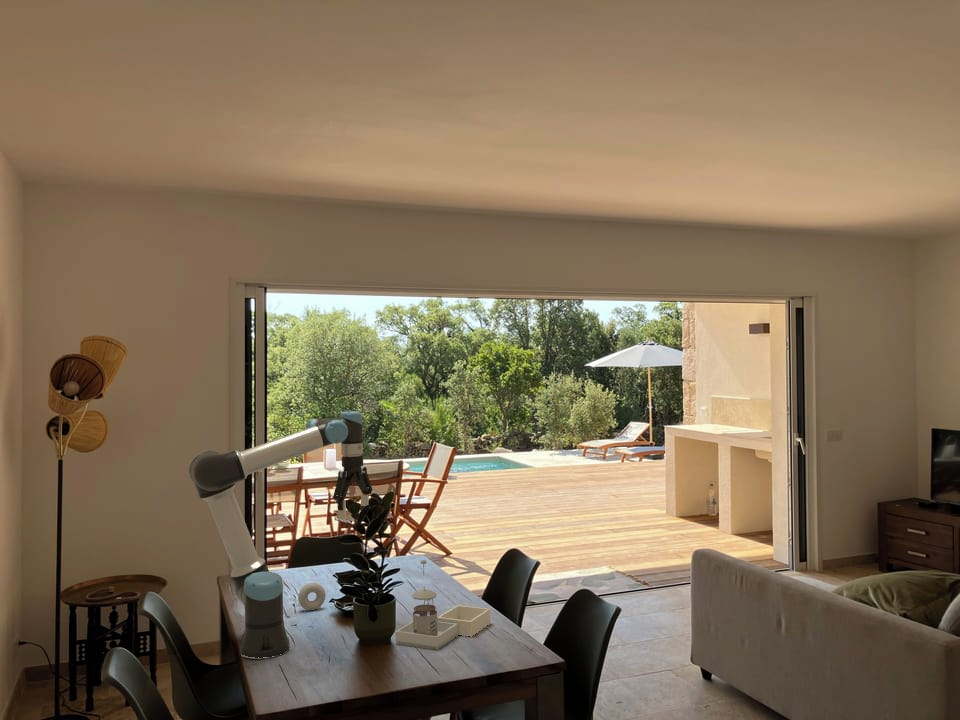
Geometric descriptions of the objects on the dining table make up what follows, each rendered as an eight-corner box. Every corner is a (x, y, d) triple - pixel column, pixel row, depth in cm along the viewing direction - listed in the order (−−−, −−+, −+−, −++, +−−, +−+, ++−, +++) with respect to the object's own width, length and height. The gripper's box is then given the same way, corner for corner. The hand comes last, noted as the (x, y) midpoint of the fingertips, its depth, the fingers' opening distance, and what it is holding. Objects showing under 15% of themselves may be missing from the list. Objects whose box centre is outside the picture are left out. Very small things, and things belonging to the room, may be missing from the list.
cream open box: (471, 637, 246) (471, 621, 246) (437, 632, 252) (436, 617, 252) (490, 623, 259) (490, 608, 259) (457, 619, 265) (457, 605, 265)
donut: (324, 607, 284) (324, 580, 284) (326, 609, 281) (326, 582, 281) (297, 611, 280) (297, 583, 280) (299, 613, 277) (298, 586, 277)
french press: (406, 642, 240) (404, 563, 240) (417, 630, 251) (415, 554, 252) (436, 644, 238) (434, 563, 238) (445, 631, 249) (443, 555, 250)
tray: (437, 650, 235) (437, 637, 235) (395, 643, 242) (395, 631, 242) (457, 636, 248) (457, 623, 248) (417, 630, 254) (417, 618, 254)
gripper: (339, 459, 254) (341, 523, 254) (381, 452, 277) (382, 510, 276) (321, 458, 258) (323, 521, 257) (364, 451, 280) (365, 509, 280)
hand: (353, 516), depth 267 cm, fingers open, 13 cm apart
